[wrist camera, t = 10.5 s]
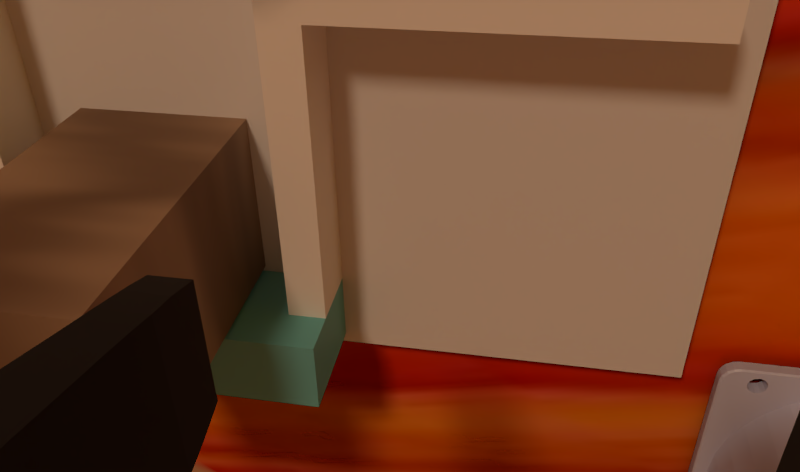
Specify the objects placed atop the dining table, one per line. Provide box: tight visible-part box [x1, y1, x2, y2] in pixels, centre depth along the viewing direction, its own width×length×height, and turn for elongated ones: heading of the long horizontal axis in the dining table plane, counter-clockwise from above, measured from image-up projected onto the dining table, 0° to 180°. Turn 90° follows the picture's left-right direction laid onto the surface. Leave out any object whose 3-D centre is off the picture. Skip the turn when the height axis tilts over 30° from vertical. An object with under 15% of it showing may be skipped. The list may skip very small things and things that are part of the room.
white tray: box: [0, 0, 778, 407], centre depth 16 cm, size 20×20×4 cm
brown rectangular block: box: [0, 108, 266, 369], centre depth 17 cm, size 4×4×8 cm
